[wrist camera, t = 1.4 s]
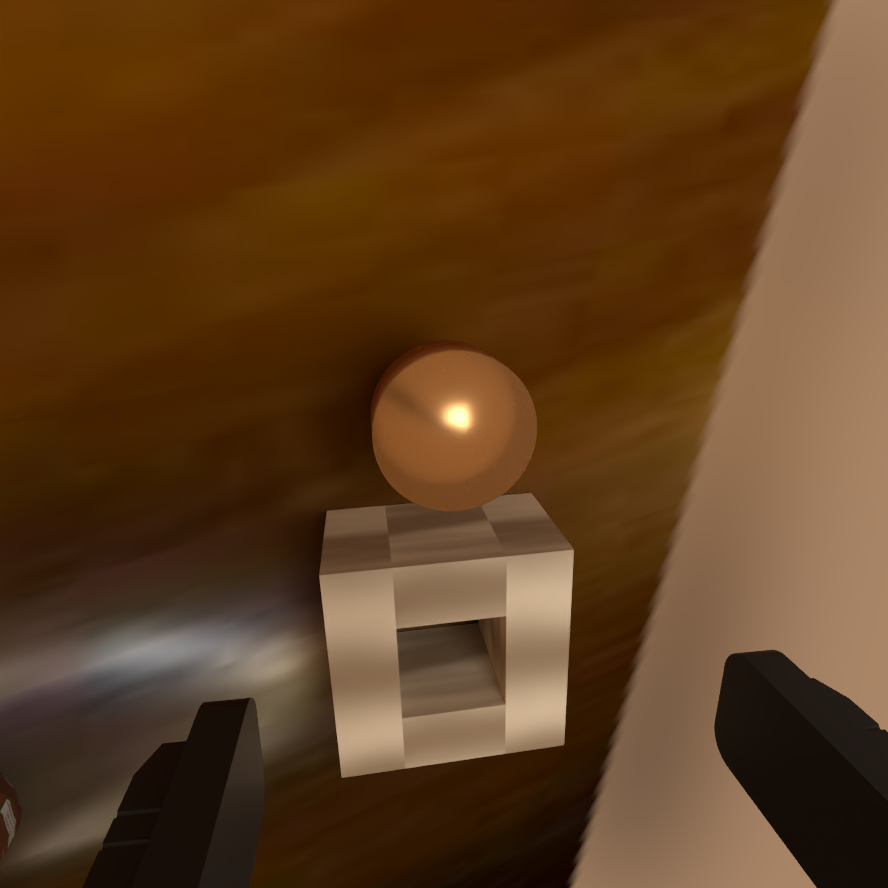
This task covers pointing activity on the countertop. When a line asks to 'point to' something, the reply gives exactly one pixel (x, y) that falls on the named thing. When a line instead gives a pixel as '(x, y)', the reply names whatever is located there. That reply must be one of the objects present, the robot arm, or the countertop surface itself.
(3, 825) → the food container
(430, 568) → the birch block
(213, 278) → the countertop surface
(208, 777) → the robot arm
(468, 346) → the copper pin
